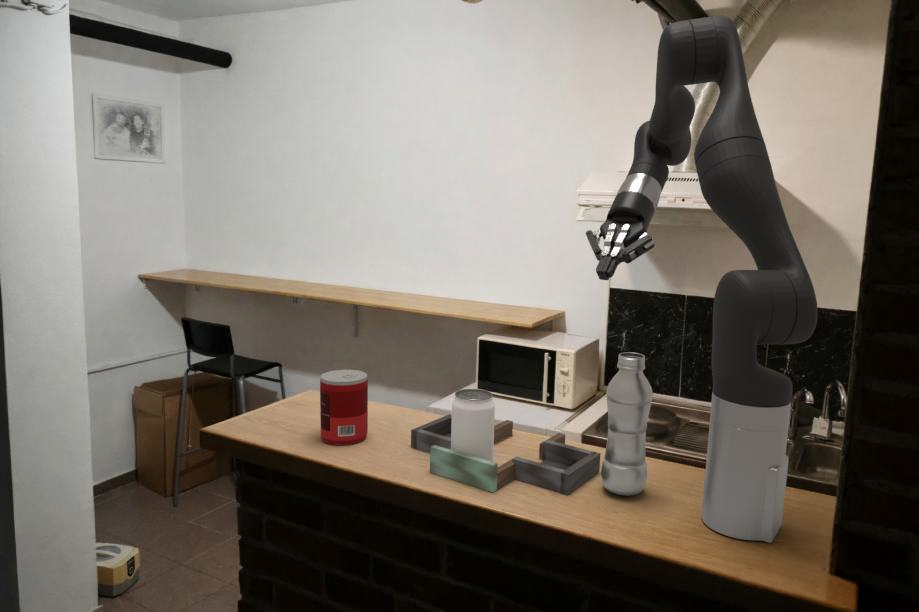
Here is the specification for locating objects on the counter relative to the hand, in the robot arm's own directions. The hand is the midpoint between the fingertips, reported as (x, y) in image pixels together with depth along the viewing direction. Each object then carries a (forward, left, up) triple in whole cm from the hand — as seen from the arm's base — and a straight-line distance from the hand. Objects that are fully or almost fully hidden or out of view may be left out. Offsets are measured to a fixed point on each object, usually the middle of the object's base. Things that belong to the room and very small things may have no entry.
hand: (602, 276), depth 119 cm
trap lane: (+6, +21, -28) cm, 35 cm away
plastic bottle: (-14, +20, -28) cm, 37 cm away
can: (+7, +27, -28) cm, 40 cm away
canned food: (+32, +30, -28) cm, 52 cm away
